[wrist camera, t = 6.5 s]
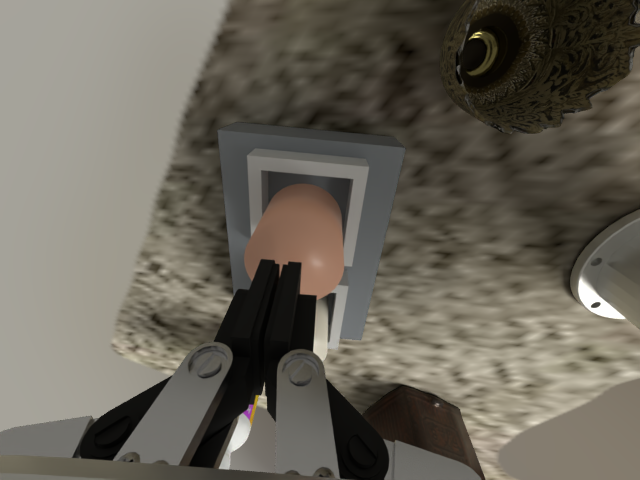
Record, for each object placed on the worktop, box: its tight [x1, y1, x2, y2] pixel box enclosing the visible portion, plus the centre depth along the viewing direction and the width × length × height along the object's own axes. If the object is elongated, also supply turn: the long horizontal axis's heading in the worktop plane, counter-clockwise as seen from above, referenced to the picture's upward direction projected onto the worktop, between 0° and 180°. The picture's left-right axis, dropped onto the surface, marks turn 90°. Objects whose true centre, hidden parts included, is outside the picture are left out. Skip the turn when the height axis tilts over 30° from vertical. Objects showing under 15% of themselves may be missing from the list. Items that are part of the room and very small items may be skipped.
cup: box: [440, 0, 640, 134], centre depth 15 cm, size 8×7×8 cm
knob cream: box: [313, 295, 329, 362], centre depth 22 cm, size 5×5×5 cm
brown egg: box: [244, 184, 344, 300], centre depth 15 cm, size 5×5×5 cm
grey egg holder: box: [217, 122, 406, 349], centre depth 23 cm, size 12×18×6 cm, turn 175°
